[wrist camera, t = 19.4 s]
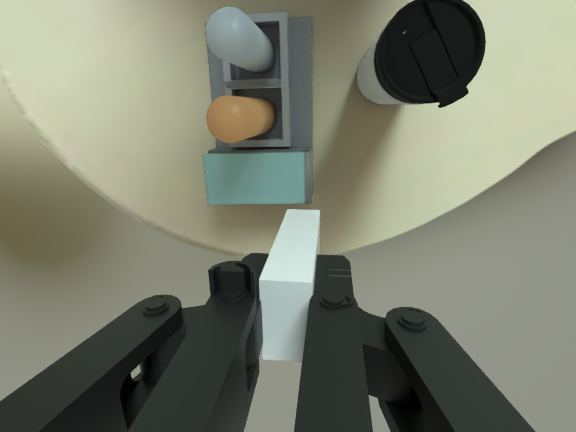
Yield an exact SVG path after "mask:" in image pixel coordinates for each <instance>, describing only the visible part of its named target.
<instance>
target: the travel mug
mask: <svg viewBox="0 0 576 432" xmlns="http://www.w3.org/2000/svg"><path fill="white" fill-rule="evenodd" d="M485 44H486V41H485V31H484V28H483V25H482V22H481V20H480V18H479V16H478V15H477V13H476V12H475V11H474V10H473V8H472V7H471V6H470V5H469V4H467V3H466V2H464V1H463V0H415V1H413V2H411V3H409V4H407V5H406V6H404V7H403V8H402V9H400V10H399V11H398V12H397V13H396V15H395V16H394V17H393V18H392V19H391V20H390V21H389V22H388V23H387V24H386V26H385V27H384V28H383V30H382V31H381V33H380V34H379V36H378V37H377V38H376V40H375V41H374V43H373V44H372V46H371V47H370V49H369V50H368V51H367V53H366V54H365V56H364V57H363V59H362V60H361V62H360V64H359V66H358V70H357V77H356V80H357V86H358V88H359V91H360V92H361V94H362V95H363V96H364V97H365V98H366V99H367V100H369V101H370V102H373V103H375V104H423V103H436V102H439V103H440V105H438V107H439V108H442V107H445V106H447V105H449V104H452V103H454V102H455V101H457V100H459V99H461V98H463V97H464V96H465V95H467V94H468V89H467V87H466V86H467V85H468V84H469V83H470V82H471V80H472V79H473V78H474V76H475V75H476V74H477V72H478V70H479V68H480V66H481V64H482V60H483V57H484V53H485Z"/></svg>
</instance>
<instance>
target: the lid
mask: <svg viewBox="0 0 576 432" xmlns="http://www.w3.org/2000/svg"><path fill="white" fill-rule="evenodd" d="M203 163H204V173H205V182H206V192H207V201H208V205H221V204H297V203H306V204H309V203H312V165H311V152H310V151H304V152H259V153H212V154H203Z"/></svg>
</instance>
